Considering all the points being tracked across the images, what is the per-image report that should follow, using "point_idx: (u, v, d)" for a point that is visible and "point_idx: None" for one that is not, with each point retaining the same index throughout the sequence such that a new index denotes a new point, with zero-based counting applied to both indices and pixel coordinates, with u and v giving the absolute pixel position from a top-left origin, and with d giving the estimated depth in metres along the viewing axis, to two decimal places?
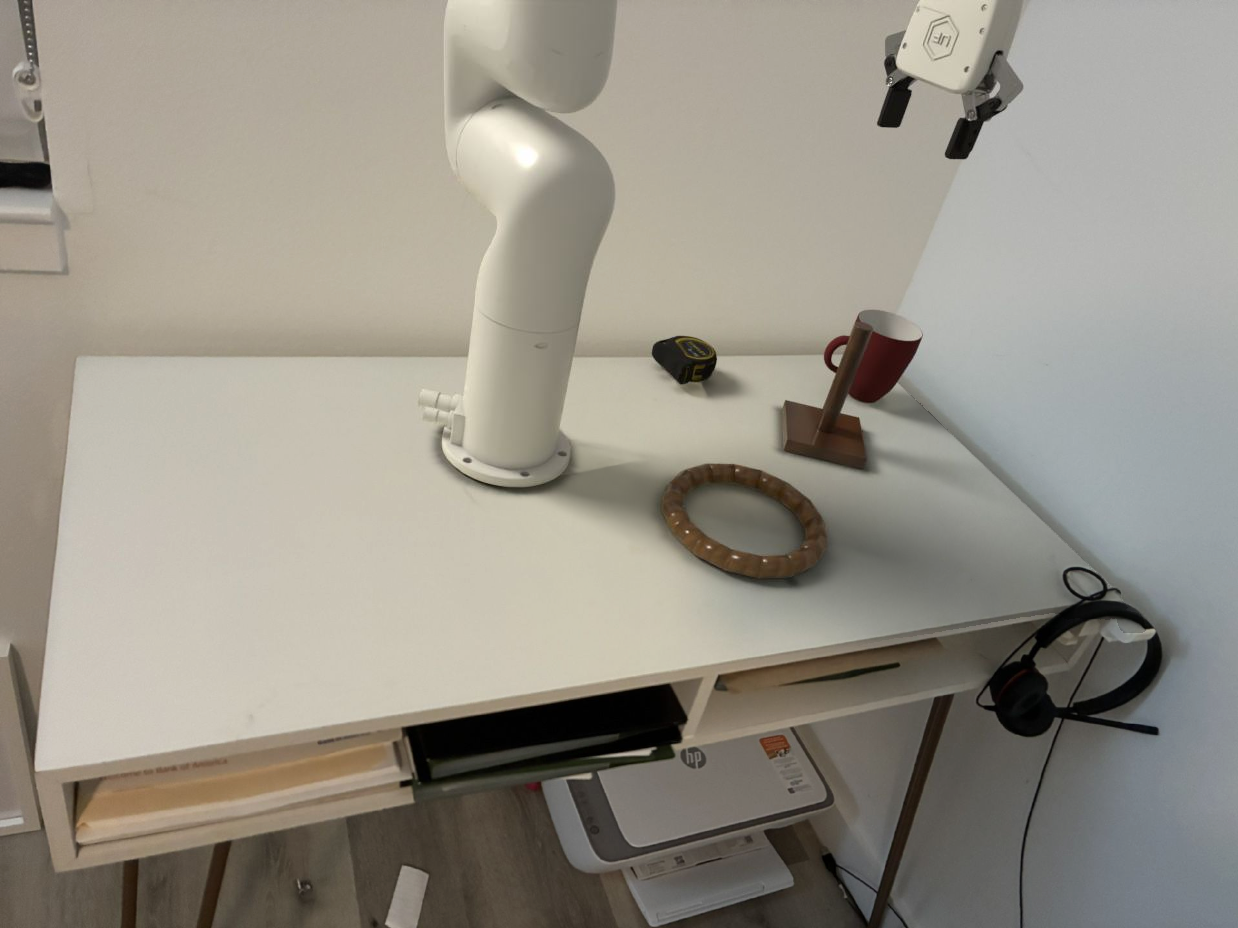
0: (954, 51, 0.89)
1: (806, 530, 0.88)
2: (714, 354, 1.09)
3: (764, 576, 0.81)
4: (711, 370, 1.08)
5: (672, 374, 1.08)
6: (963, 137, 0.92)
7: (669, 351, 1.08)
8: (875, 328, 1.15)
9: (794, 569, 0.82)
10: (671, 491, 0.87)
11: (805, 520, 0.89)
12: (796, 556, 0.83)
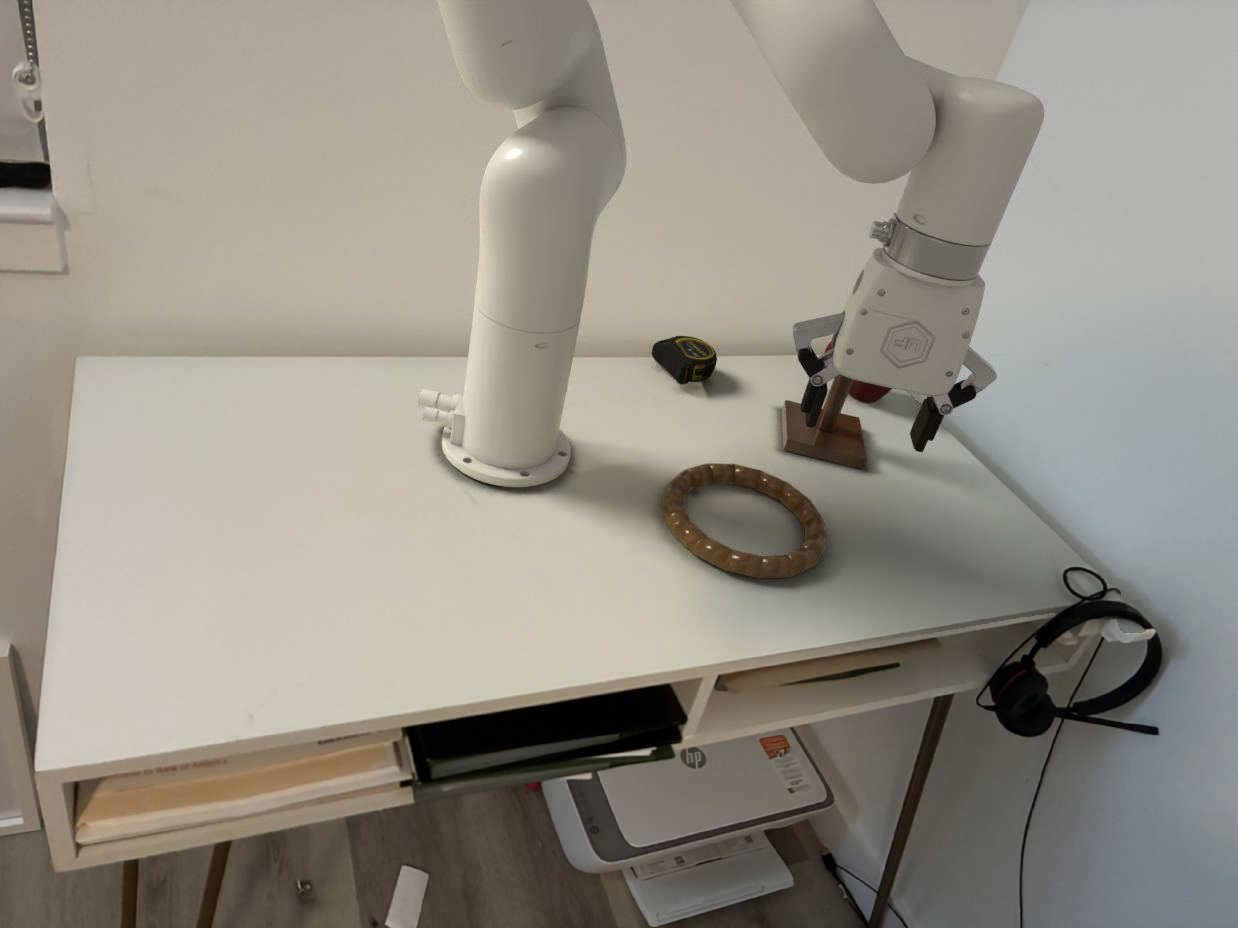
0: (929, 356, 0.74)
1: (806, 530, 0.88)
2: (714, 354, 1.09)
3: (764, 576, 0.81)
4: (711, 370, 1.08)
5: (672, 374, 1.08)
6: (932, 428, 0.79)
7: (669, 351, 1.08)
8: None
9: (794, 569, 0.82)
10: (671, 491, 0.87)
11: (805, 520, 0.89)
12: (796, 556, 0.83)
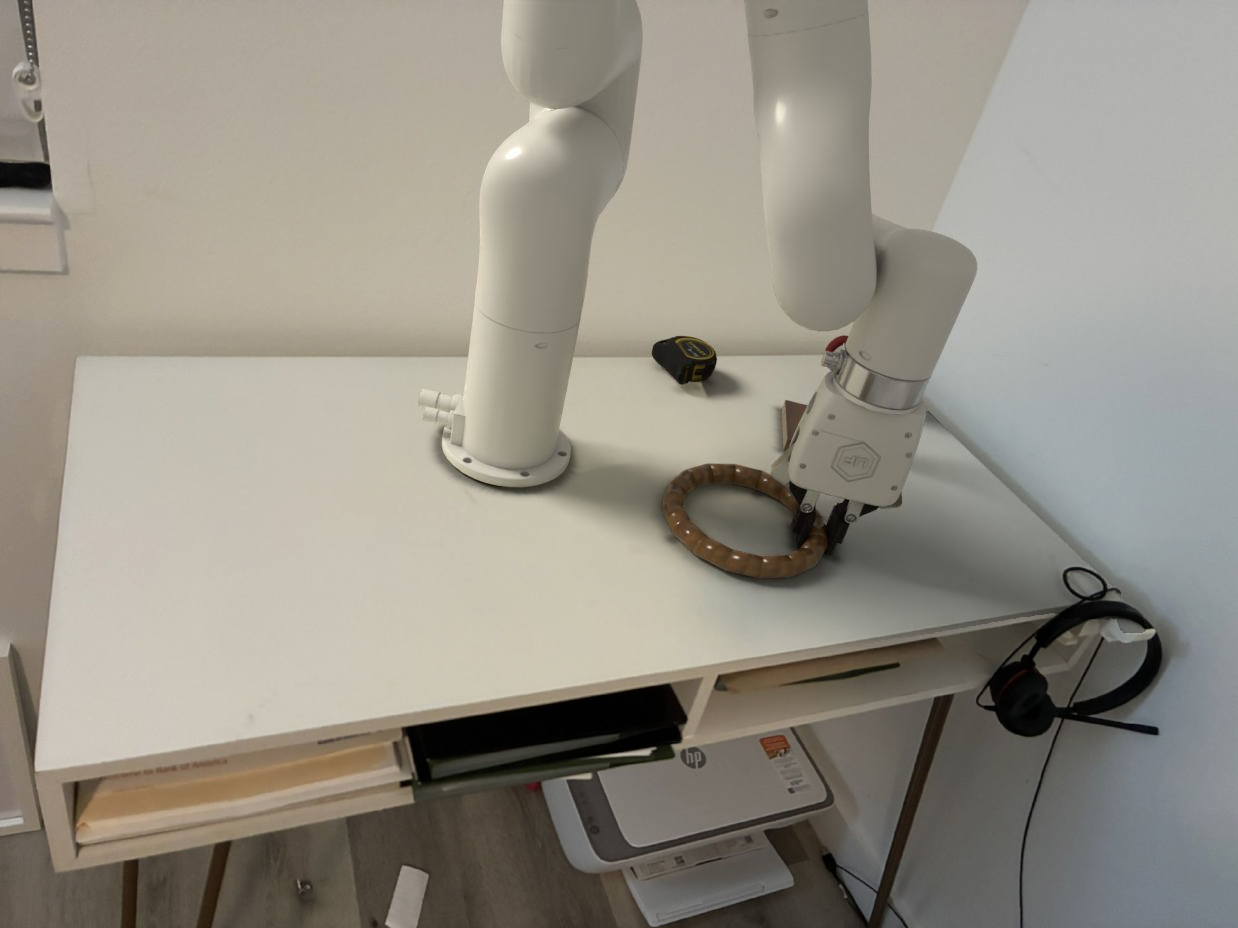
0: (876, 472, 0.80)
1: None
2: (714, 354, 1.09)
3: (765, 576, 0.81)
4: (711, 370, 1.08)
5: (672, 374, 1.08)
6: (840, 533, 0.86)
7: (669, 351, 1.08)
8: None
9: (795, 569, 0.82)
10: (672, 491, 0.87)
11: None
12: (797, 556, 0.83)
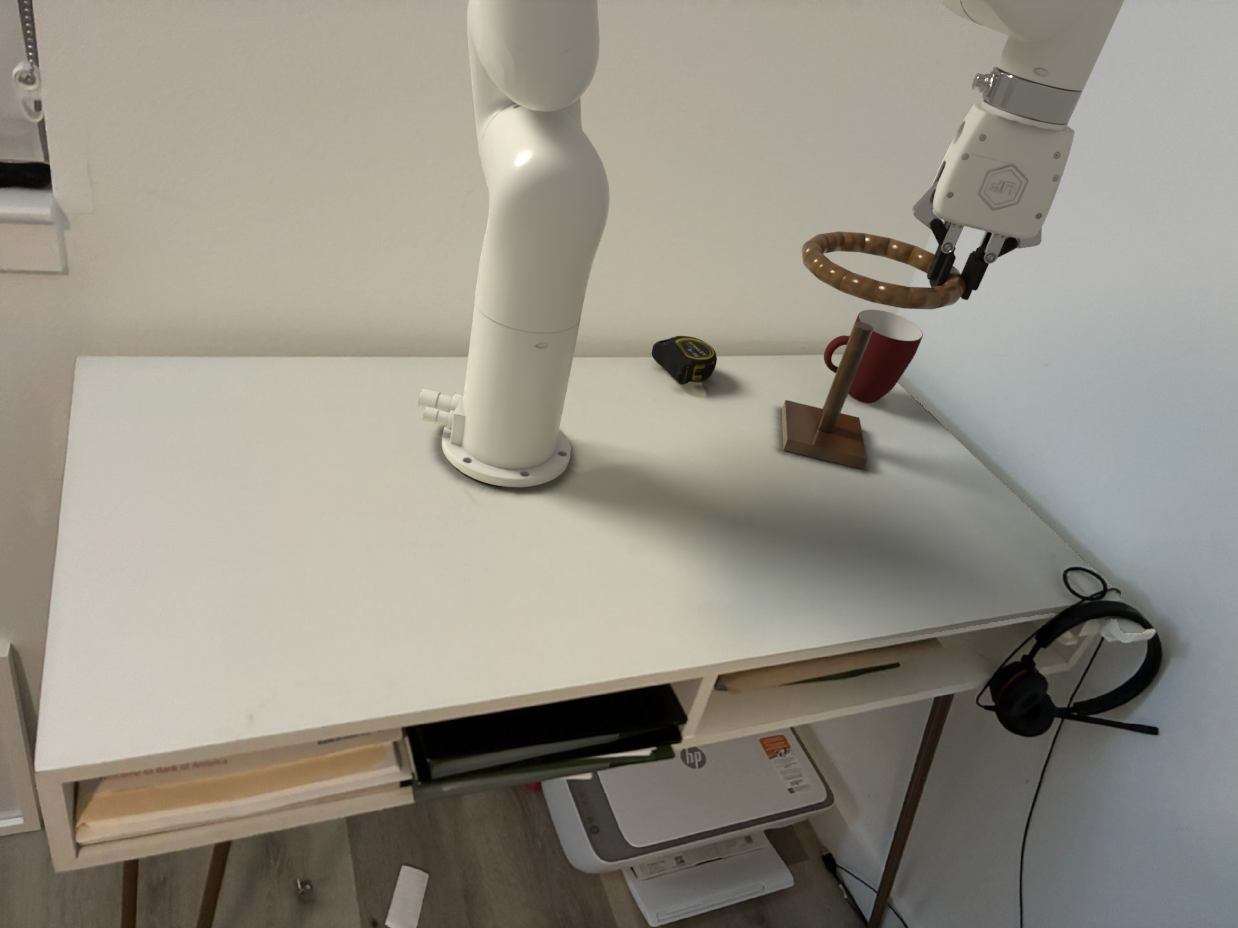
0: (1022, 199, 0.83)
1: None
2: (714, 354, 1.09)
3: (912, 304, 0.84)
4: (711, 370, 1.08)
5: (672, 374, 1.08)
6: (977, 277, 0.89)
7: (669, 351, 1.08)
8: (875, 328, 1.15)
9: (940, 298, 0.85)
10: (810, 245, 0.90)
11: None
12: (940, 288, 0.85)
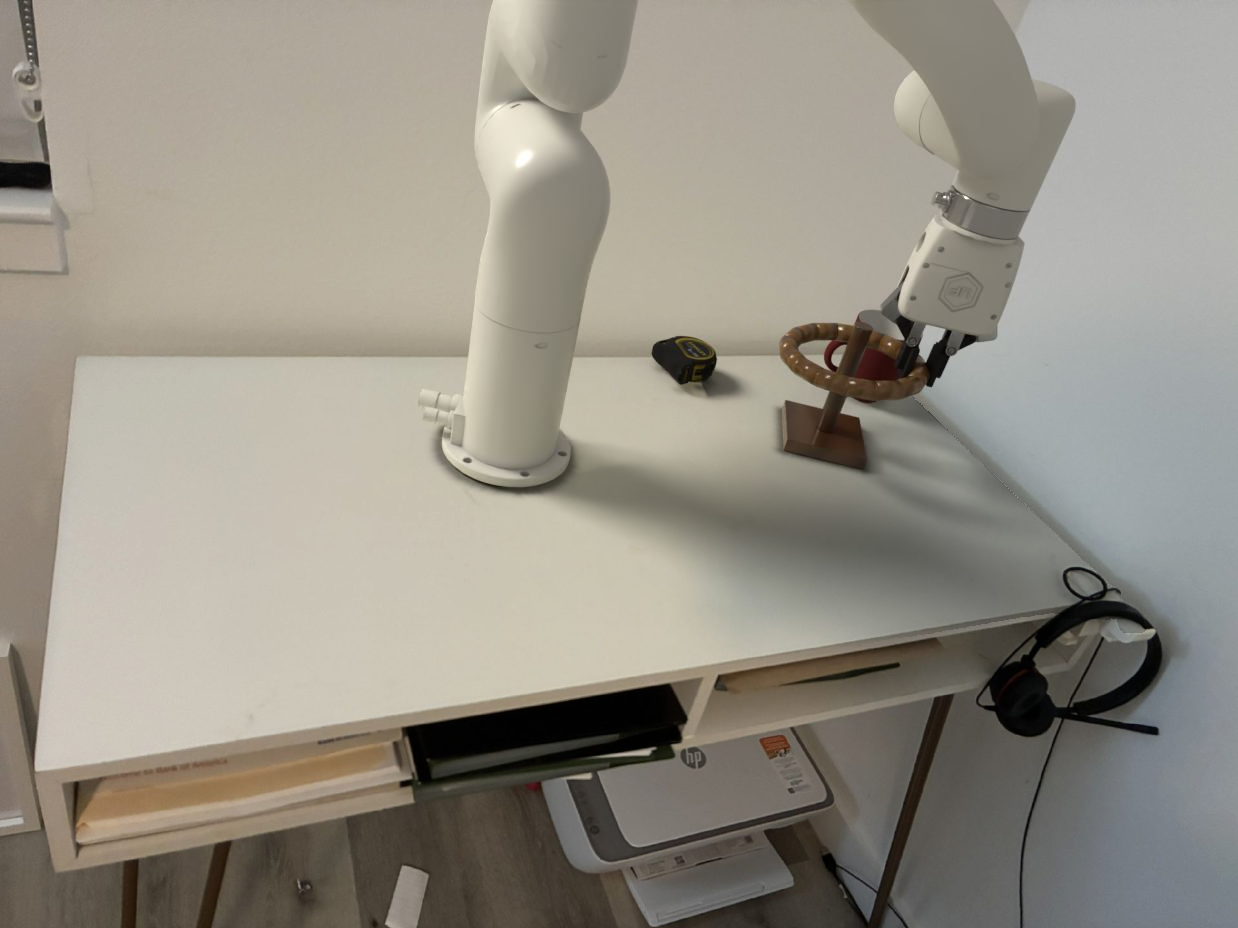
0: (978, 302, 0.91)
1: None
2: (714, 354, 1.09)
3: (879, 397, 0.93)
4: (711, 370, 1.08)
5: (672, 374, 1.08)
6: (940, 367, 0.97)
7: (669, 351, 1.08)
8: (875, 328, 1.15)
9: (905, 390, 0.93)
10: (787, 340, 0.99)
11: None
12: (905, 380, 0.94)
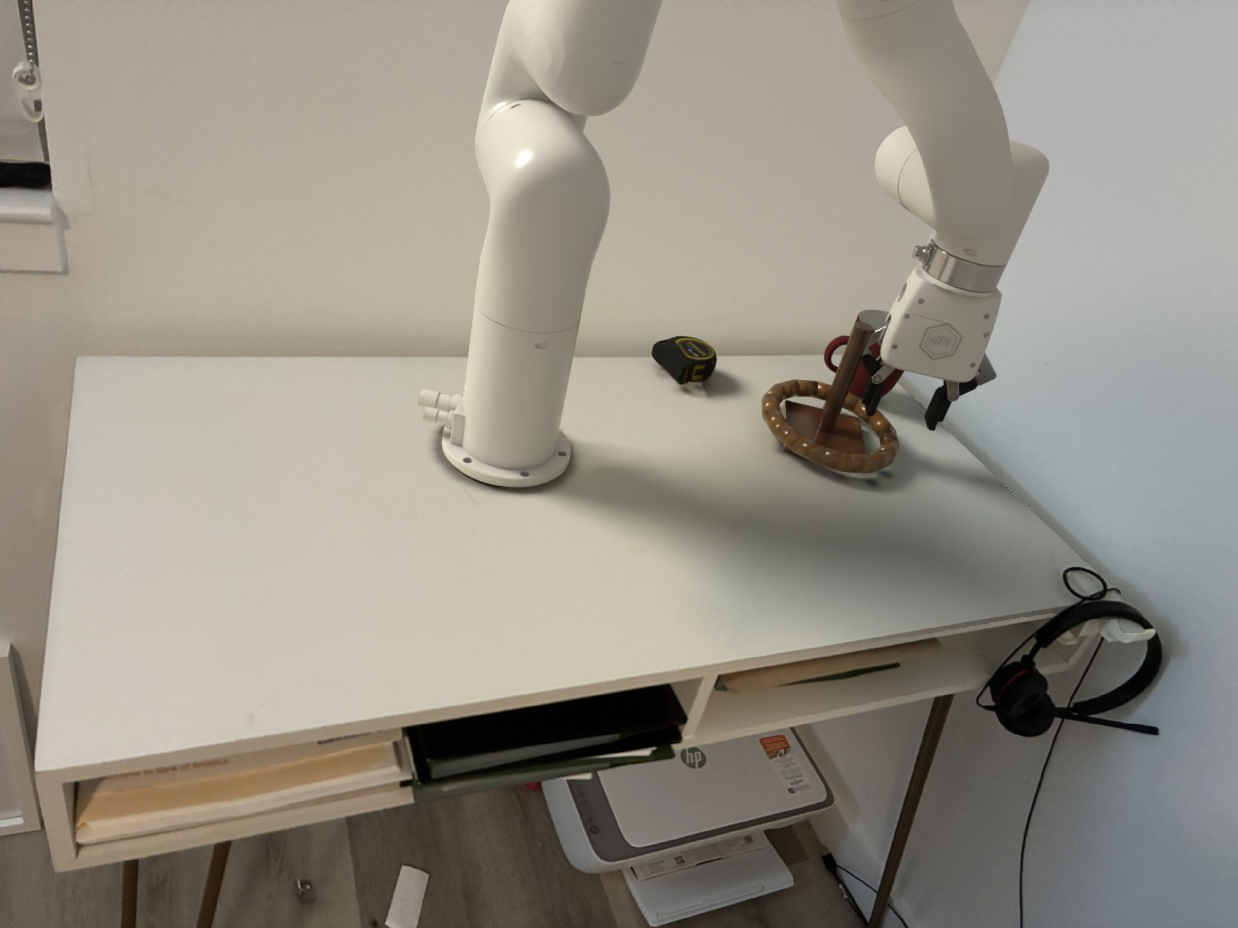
0: (957, 351, 0.94)
1: (881, 437, 1.04)
2: (714, 354, 1.09)
3: (852, 471, 0.97)
4: (711, 370, 1.08)
5: (672, 374, 1.08)
6: (942, 411, 1.00)
7: (669, 351, 1.08)
8: None
9: (876, 466, 0.98)
10: (770, 400, 1.03)
11: (879, 429, 1.05)
12: (877, 456, 0.99)
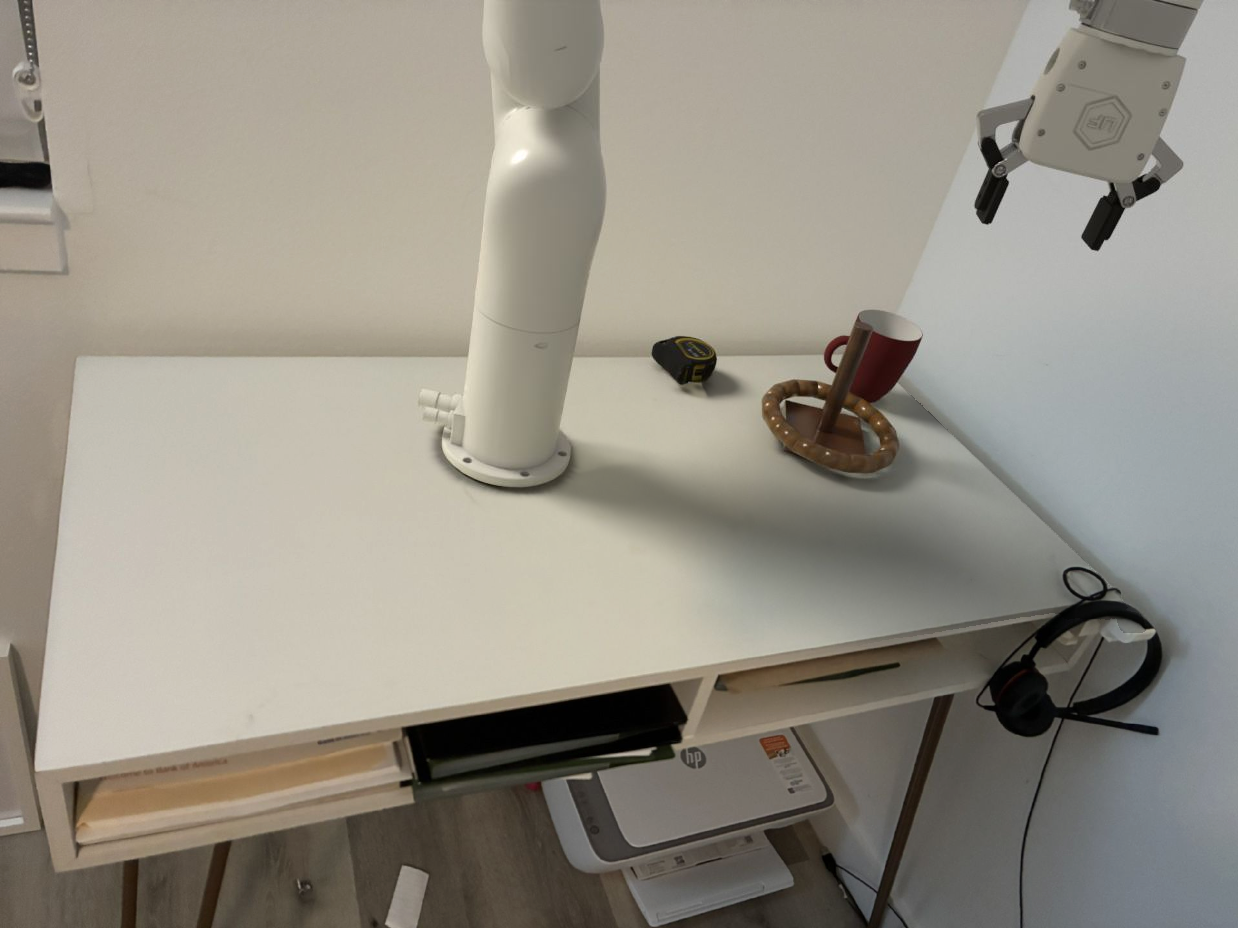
0: (1123, 137, 0.73)
1: (881, 437, 1.04)
2: (714, 354, 1.09)
3: (852, 471, 0.97)
4: (711, 370, 1.08)
5: (672, 374, 1.08)
6: None
7: (669, 351, 1.08)
8: (875, 328, 1.15)
9: (876, 466, 0.98)
10: (770, 400, 1.03)
11: (879, 429, 1.05)
12: (877, 456, 0.99)
